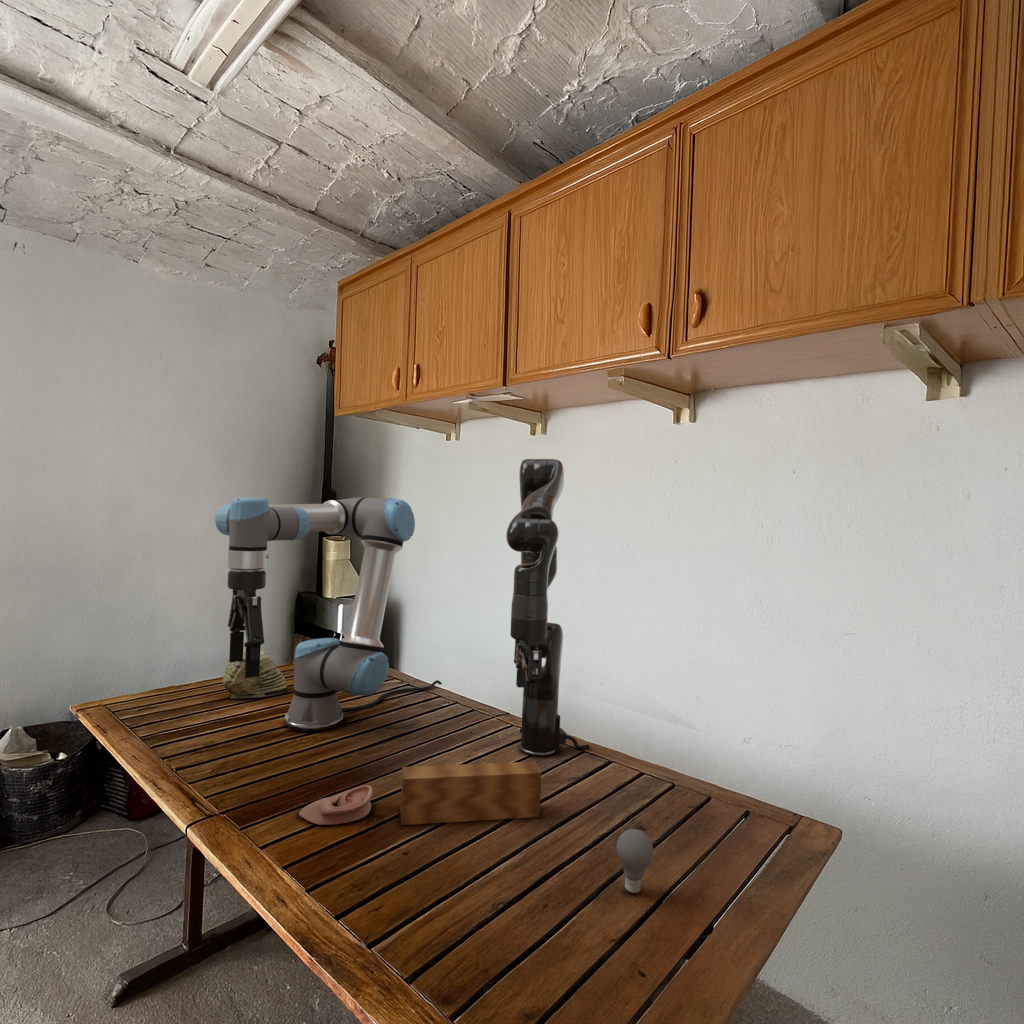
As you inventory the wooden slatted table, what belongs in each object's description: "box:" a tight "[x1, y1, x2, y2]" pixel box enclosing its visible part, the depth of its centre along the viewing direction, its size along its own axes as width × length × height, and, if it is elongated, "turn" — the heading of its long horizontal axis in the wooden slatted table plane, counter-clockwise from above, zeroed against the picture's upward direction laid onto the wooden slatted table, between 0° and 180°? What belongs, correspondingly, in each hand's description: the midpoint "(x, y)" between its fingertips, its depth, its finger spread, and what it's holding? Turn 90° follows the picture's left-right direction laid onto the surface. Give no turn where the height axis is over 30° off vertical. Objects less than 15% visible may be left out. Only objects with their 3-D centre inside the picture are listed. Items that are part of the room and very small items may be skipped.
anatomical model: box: [298, 784, 373, 826], centre depth 127 cm, size 13×4×12 cm
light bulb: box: [615, 828, 654, 894], centre depth 106 cm, size 6×6×10 cm
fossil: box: [222, 646, 288, 699], centre depth 198 cm, size 9×18×15 cm, turn 132°
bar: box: [400, 761, 542, 826], centre depth 129 cm, size 28×6×9 cm, turn 102°
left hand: (243, 668), depth 136 cm, fingers open, 13 cm apart
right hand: (526, 693), depth 131 cm, fingers open, 8 cm apart
